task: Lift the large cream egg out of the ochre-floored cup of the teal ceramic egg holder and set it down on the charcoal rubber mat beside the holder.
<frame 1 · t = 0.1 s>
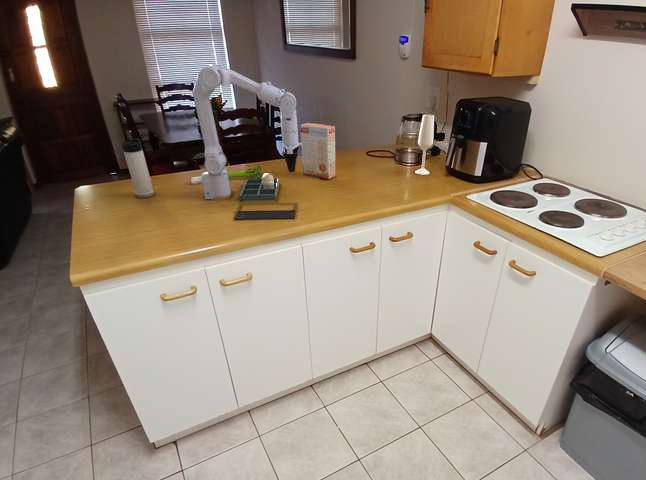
hand: (292, 168, 153), 10 cm above the worktop, tool pointing down, fingers open, 7 cm apart
egg: (269, 191, 159), point 1 cm above the worktop, touching egg holder
champagne flute: (422, 172, 185), on the worktop
egg holder: (261, 193, 160), on the worktop
leek: (229, 182, 171), on the worktop
cracker box: (319, 176, 179), on the worktop
travel mug: (146, 195, 157), on the worktop
mat: (266, 211, 144), on the worktop
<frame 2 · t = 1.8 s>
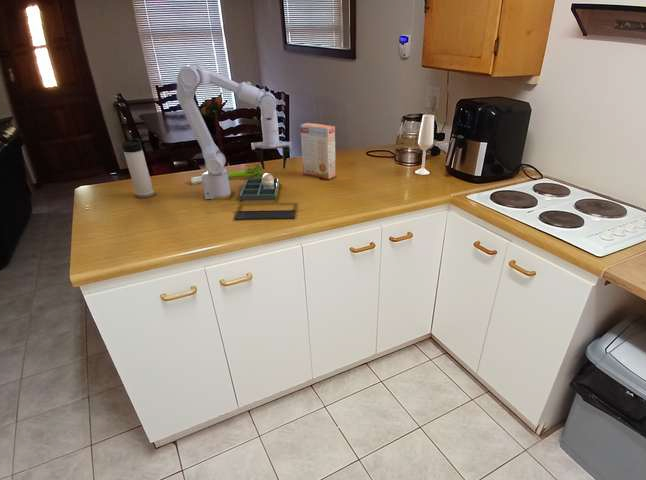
hand: (273, 168, 154), 10 cm above the worktop, tool pointing down, fingers open, 7 cm apart
nothing on the worktop moved.
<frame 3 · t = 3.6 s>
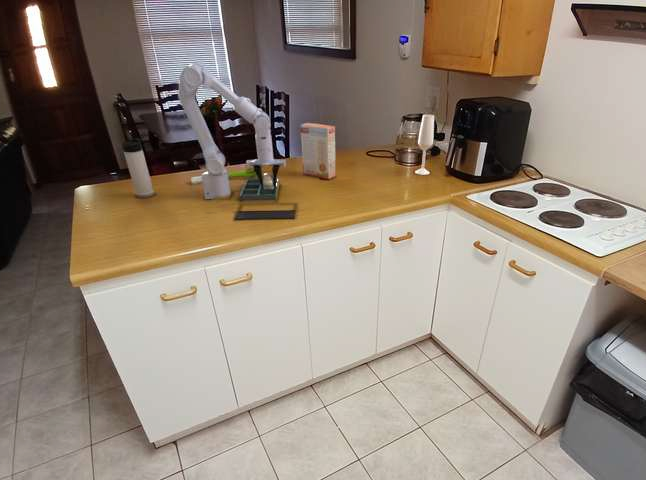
hand: (268, 184, 158), 3 cm above the worktop, tool pointing down, fingers closed on egg, 4 cm apart
egg: (269, 191, 159), point 1 cm above the worktop, touching egg holder, gripper
everything else where it was.
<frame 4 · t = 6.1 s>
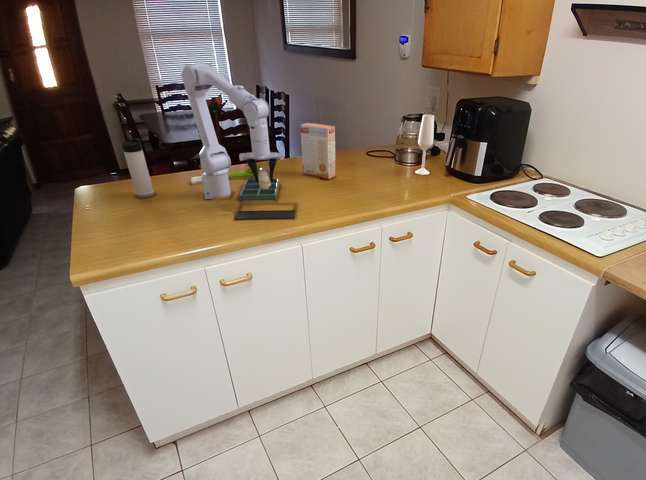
hand: (264, 181, 141), 10 cm above the worktop, tool pointing down, fingers closed on egg, 4 cm apart
egg: (265, 188, 143), point 7 cm above the worktop, touching gripper
everything else where it was.
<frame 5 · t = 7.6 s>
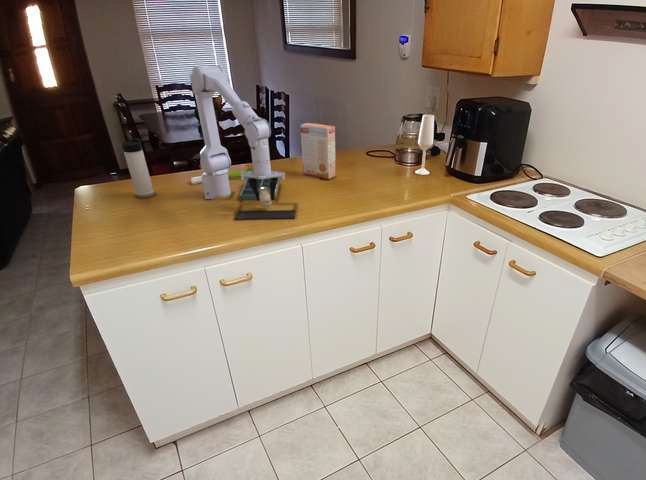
hand: (265, 199, 142), 4 cm above the worktop, tool pointing down, fingers closed on egg, 4 cm apart
egg: (266, 206, 143), point 2 cm above the worktop, touching gripper
everything else where it was.
when the fingers open (3 cm above the worktop, at t = 8.5 s): egg stays where it is, resting on mat.
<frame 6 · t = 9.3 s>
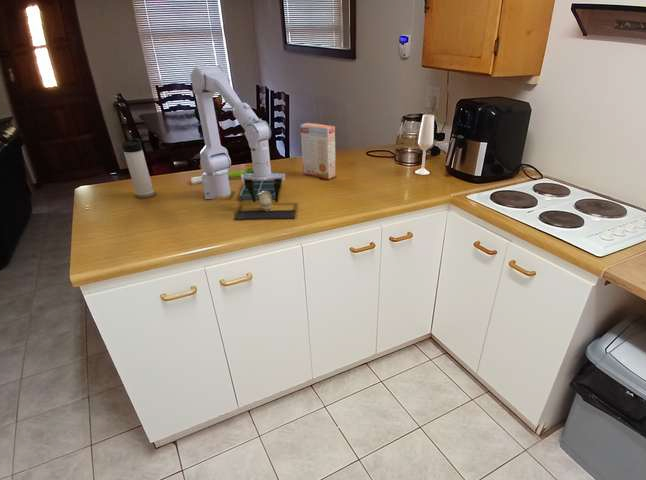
hand: (265, 200, 142), 4 cm above the worktop, tool pointing down, fingers open, 7 cm apart
egg: (266, 210, 144), resting on mat
everything else where it was.
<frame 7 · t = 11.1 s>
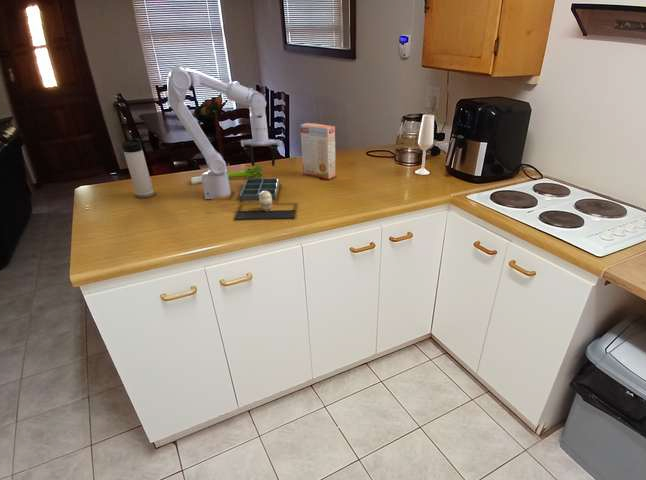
hand: (263, 165, 157), 10 cm above the worktop, tool pointing down, fingers open, 7 cm apart
nothing on the worktop moved.
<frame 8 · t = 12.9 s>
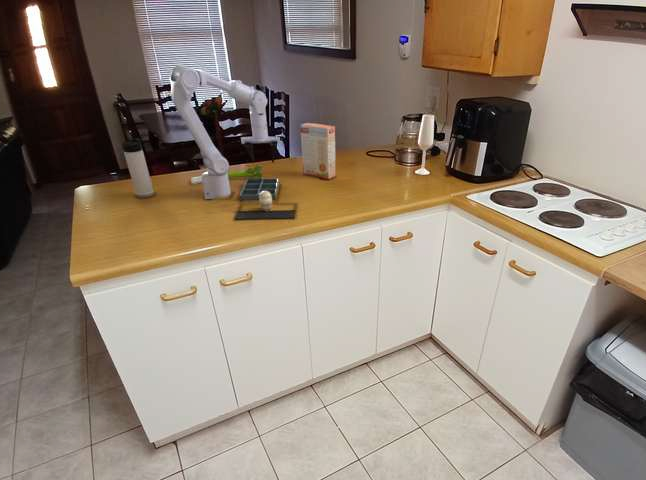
hand: (263, 162, 161), 10 cm above the worktop, tool pointing down, fingers open, 7 cm apart
nothing on the worktop moved.
at the end: egg inside the target area on the mat (0.0 cm from its centre), point 0.5 cm above the mat's base; the gripper is holding nothing; egg moved 19.0 cm from its start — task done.
